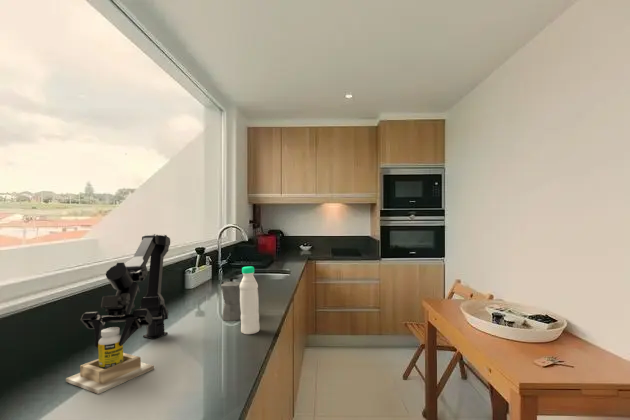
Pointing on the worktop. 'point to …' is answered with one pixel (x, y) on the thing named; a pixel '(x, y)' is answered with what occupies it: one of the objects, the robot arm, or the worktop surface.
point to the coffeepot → (231, 300)
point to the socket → (108, 374)
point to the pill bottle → (110, 348)
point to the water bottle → (249, 302)
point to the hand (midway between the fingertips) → (108, 346)
